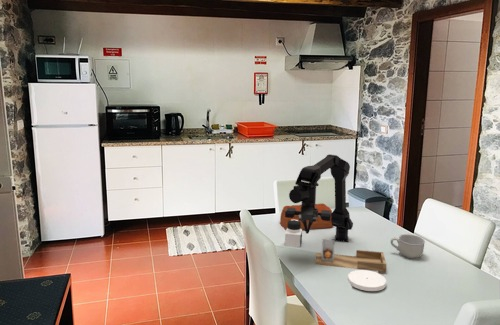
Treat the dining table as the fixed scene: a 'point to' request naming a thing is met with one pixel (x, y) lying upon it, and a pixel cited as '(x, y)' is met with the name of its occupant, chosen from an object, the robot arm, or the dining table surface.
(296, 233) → the medicine bottle
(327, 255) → the ball
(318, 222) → the bread
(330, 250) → the brushed metal u-channel
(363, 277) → the plastic lid
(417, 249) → the teacup
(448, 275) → the dining table surface
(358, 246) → the dining table surface
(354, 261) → the serving board
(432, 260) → the dining table surface
